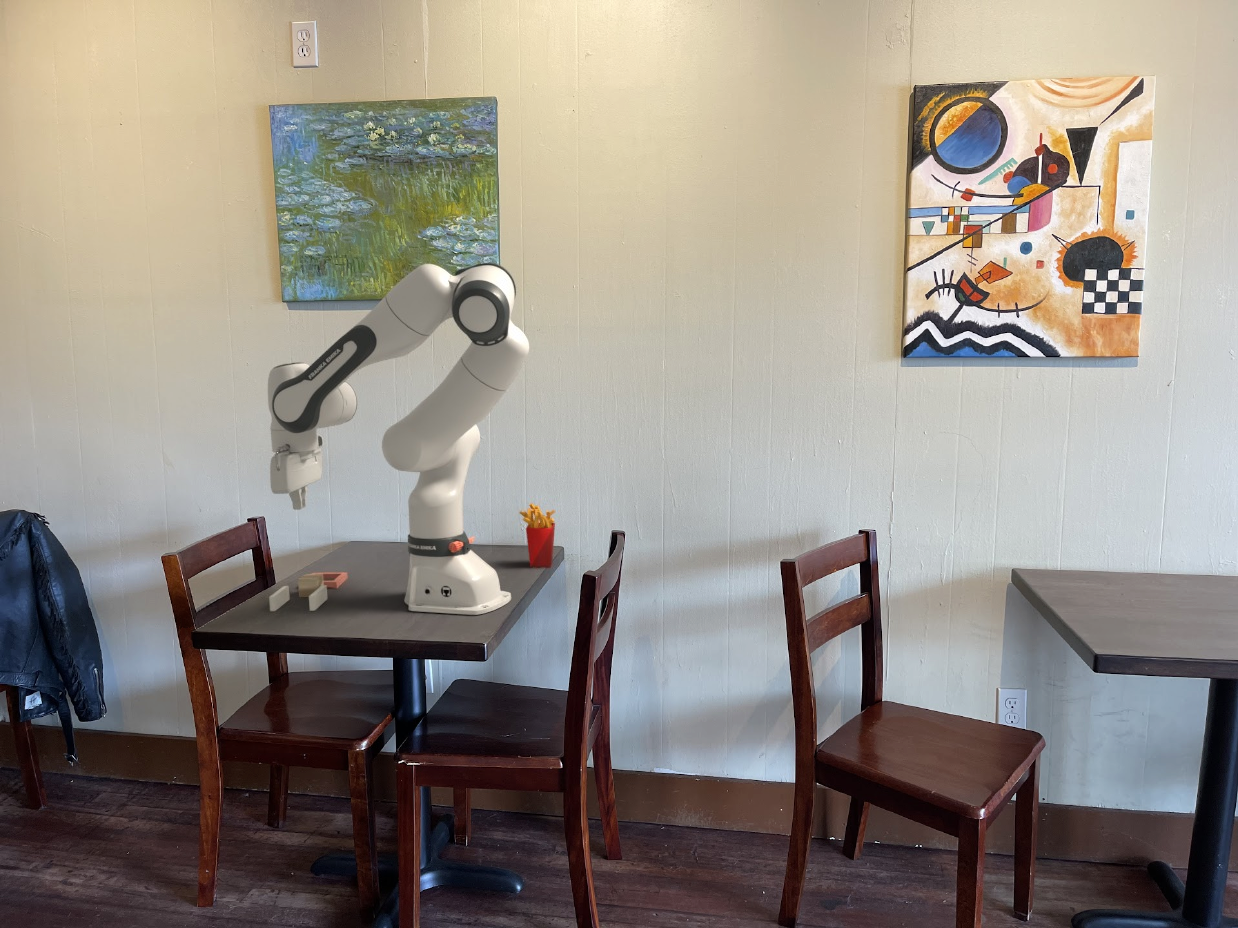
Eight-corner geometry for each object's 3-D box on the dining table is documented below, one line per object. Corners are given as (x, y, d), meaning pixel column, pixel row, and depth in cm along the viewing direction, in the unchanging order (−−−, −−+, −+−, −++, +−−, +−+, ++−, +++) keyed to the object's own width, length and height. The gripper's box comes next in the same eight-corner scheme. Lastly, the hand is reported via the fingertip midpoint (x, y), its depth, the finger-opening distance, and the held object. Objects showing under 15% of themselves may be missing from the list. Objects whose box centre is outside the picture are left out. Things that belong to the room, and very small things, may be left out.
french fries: (556, 561, 211) (555, 501, 209) (553, 570, 203) (552, 508, 201) (521, 561, 211) (519, 502, 209) (516, 570, 203) (514, 508, 201)
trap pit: (336, 588, 189) (336, 581, 189) (300, 588, 189) (300, 582, 189) (347, 578, 197) (347, 572, 197) (312, 579, 197) (312, 572, 197)
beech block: (317, 597, 183) (316, 578, 183) (299, 597, 183) (298, 579, 183) (323, 591, 187) (323, 574, 187) (305, 591, 187) (304, 574, 186)
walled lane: (314, 610, 173) (313, 596, 173) (270, 611, 173) (269, 596, 173) (327, 598, 181) (326, 585, 181) (284, 599, 181) (283, 585, 181)
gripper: (291, 447, 165) (297, 517, 167) (325, 437, 186) (330, 499, 187) (258, 448, 165) (264, 518, 167) (296, 438, 185) (301, 500, 187)
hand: (299, 508), depth 177 cm, fingers closed
